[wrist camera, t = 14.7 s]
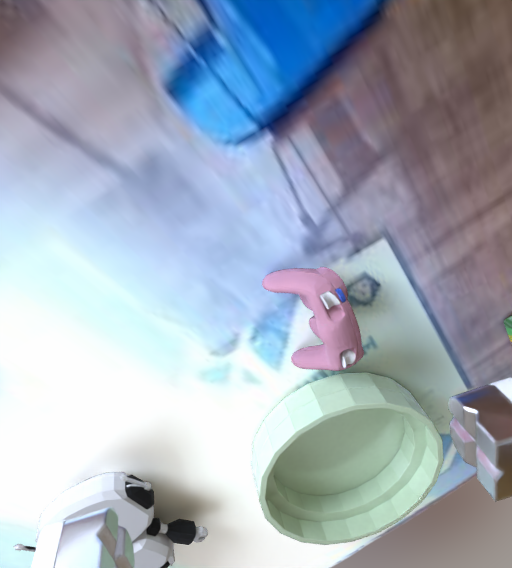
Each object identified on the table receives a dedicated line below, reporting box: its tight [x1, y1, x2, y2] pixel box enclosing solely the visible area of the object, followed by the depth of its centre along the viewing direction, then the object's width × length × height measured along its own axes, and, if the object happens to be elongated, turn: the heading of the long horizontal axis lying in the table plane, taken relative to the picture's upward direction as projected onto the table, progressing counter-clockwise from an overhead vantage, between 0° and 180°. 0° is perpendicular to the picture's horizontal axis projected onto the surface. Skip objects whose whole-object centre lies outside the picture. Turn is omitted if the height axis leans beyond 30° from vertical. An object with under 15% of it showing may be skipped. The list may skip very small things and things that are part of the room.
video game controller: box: [262, 267, 364, 371], centre depth 39 cm, size 10×5×7 cm, turn 20°
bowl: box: [251, 372, 443, 545], centre depth 47 cm, size 18×18×5 cm
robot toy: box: [13, 472, 208, 568], centre depth 46 cm, size 12×4×15 cm
